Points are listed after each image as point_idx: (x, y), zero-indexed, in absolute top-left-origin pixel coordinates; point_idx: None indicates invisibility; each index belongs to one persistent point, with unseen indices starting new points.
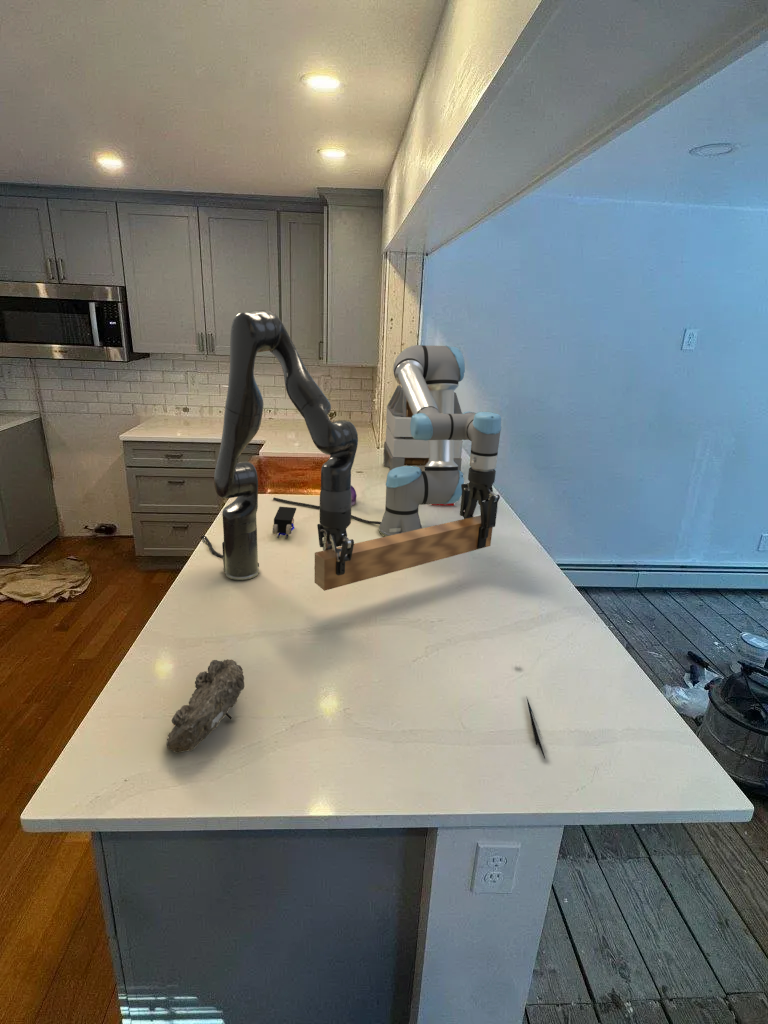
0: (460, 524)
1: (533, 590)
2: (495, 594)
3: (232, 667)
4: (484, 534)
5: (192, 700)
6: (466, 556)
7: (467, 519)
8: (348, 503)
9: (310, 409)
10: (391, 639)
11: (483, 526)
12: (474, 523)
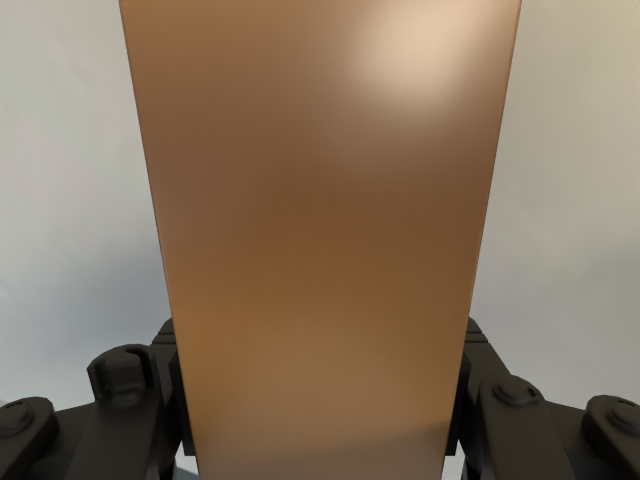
0: (288, 89)
1: (94, 326)
2: (116, 169)
3: None
4: (158, 340)
5: None
6: (473, 316)
7: (413, 369)
8: None
9: None
10: None
11: (113, 395)
12: (220, 350)
